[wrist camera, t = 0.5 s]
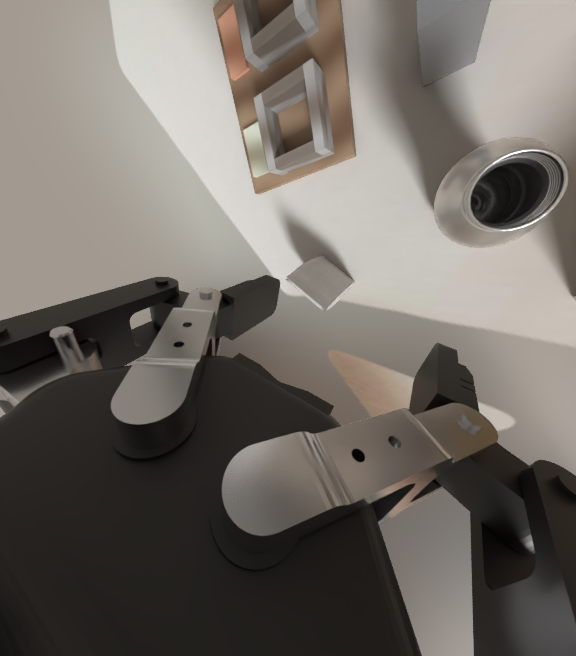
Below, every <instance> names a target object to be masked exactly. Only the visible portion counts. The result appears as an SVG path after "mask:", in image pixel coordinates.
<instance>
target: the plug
mask: <svg viewBox="0 0 576 656" xmlns="http://www.w3.org/2000/svg"><path fill="white" fill-rule="evenodd" d="M490 2H491V0H416V6H417V35H418V45H419V55H420V65H421V75H422V85H423V86H426V85H428V84H430V83H432V82H434V81H436V80H438V79H440V78H442V77H444V76H447V75H449V74H451V73H453V72H455V71H457V70H459V69H461V68H463V67H465V66H468V65H470V64H472V63H474V62H475V59H476V55H477V51H478V47H479V43H480V40H481V36H482V32H483V28H484V24H485V21H486V17H487V13H488V9H489V5H490Z"/></svg>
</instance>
